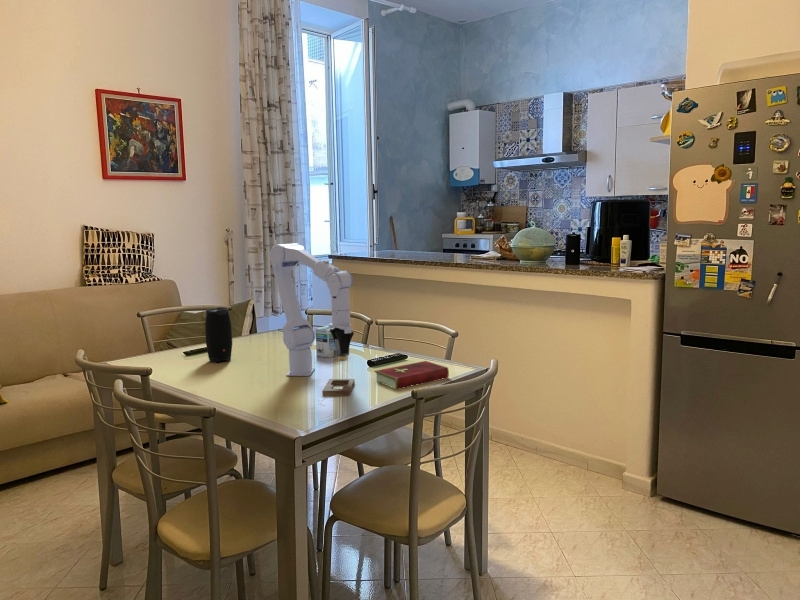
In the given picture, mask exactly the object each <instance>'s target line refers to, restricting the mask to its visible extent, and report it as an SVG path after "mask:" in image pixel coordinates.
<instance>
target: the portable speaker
mask: <svg viewBox="0 0 800 600" xmlns="http://www.w3.org/2000/svg"><path fill="white" fill-rule="evenodd" d="M204 325H205V326H204V329H205V344H206V350H207V357H208V360H209V362H210V363H211V362H220V361H226V362H230V361H232V359H231V358H232V352H233V329H232V328H233V327H232V320H231V315H230V312H229V309H228V307H225V306H224V307H223V306H221V307H220V306H219V307H217V308H206V311H205V322H204ZM229 360H230V361H229Z"/></svg>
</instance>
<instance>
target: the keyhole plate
mask: <svg viewBox="0 0 800 600" xmlns="http://www.w3.org/2000/svg"><path fill="white" fill-rule="evenodd" d="M355 381H356V380H355V378H329V379H328V380H327V382H326V384H325V386H324V387H323V389H321V390H322V391H321V392H322V396H323V397H324V396H325V397H327V396H328V397H331V396H332V397H346V396H347V397H348V396H350V395H351V393H352V391H351V390H353V388H354V386H355ZM334 386H343V387H342V388H334Z"/></svg>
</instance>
